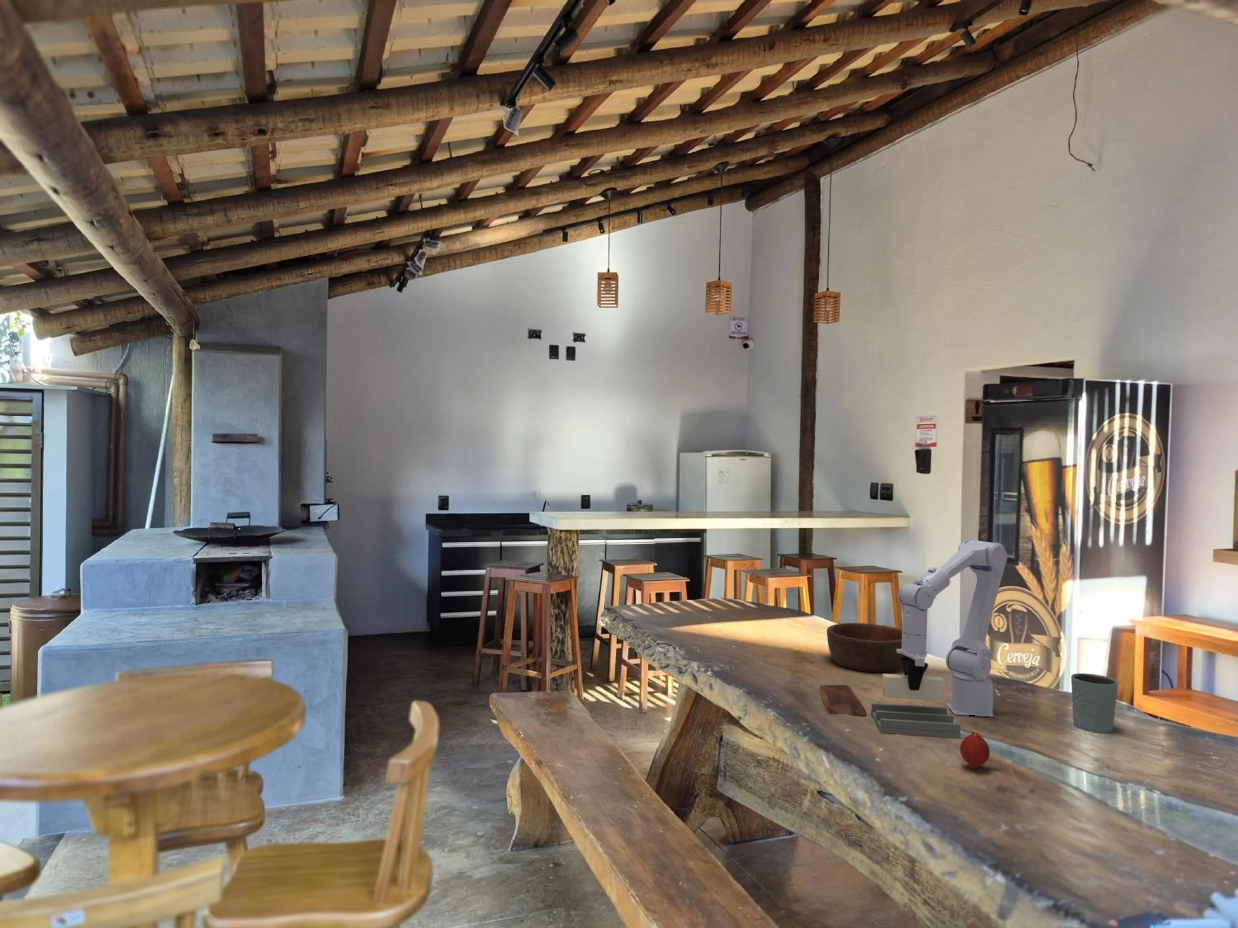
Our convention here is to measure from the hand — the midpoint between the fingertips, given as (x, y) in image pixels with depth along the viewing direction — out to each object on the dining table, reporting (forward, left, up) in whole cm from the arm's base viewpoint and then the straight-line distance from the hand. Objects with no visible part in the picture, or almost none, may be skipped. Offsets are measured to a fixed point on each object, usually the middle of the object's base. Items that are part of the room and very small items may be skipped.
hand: (912, 687), depth 206 cm
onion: (-7, +28, -9) cm, 30 cm away
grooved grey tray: (0, +3, -8) cm, 9 cm away
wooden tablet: (+15, -15, -9) cm, 23 cm away
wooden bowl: (+2, -53, -9) cm, 54 cm away
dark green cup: (-44, -5, -9) cm, 45 cm away
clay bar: (0, 0, -2) cm, 2 cm away
